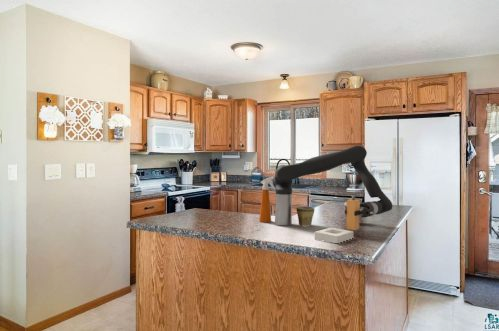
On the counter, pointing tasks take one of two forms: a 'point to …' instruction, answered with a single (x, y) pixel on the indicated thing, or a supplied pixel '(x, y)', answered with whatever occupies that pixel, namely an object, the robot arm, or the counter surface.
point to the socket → (334, 235)
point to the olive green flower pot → (305, 215)
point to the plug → (352, 214)
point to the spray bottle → (265, 200)
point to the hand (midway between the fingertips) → (350, 212)
